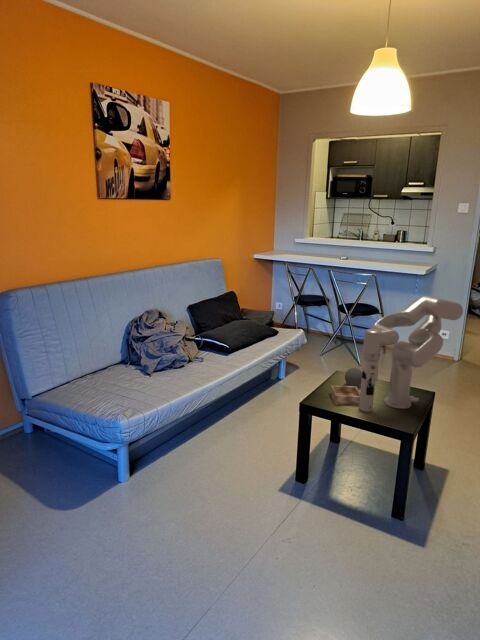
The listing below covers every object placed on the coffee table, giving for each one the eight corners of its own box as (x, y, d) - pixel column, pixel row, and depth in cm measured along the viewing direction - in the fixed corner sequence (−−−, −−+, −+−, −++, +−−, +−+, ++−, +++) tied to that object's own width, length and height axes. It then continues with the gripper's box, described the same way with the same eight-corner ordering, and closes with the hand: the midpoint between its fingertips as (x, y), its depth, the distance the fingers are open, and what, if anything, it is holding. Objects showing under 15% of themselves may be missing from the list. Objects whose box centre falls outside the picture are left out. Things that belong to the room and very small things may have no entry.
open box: (355, 394, 231) (356, 386, 230) (361, 405, 218) (362, 396, 217) (330, 393, 231) (330, 385, 230) (334, 404, 218) (335, 396, 217)
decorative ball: (351, 380, 249) (353, 363, 246) (366, 386, 241) (368, 369, 239) (340, 385, 243) (341, 367, 240) (355, 391, 235) (357, 373, 233)
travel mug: (373, 413, 209) (377, 373, 204) (359, 412, 211) (362, 372, 206) (372, 408, 215) (376, 369, 210) (358, 406, 217) (361, 367, 211)
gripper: (384, 362, 198) (380, 399, 202) (374, 349, 214) (370, 384, 219) (367, 362, 198) (364, 399, 202) (358, 349, 214) (355, 384, 219)
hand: (367, 391), depth 211 cm, fingers closed on travel mug, 6 cm apart
